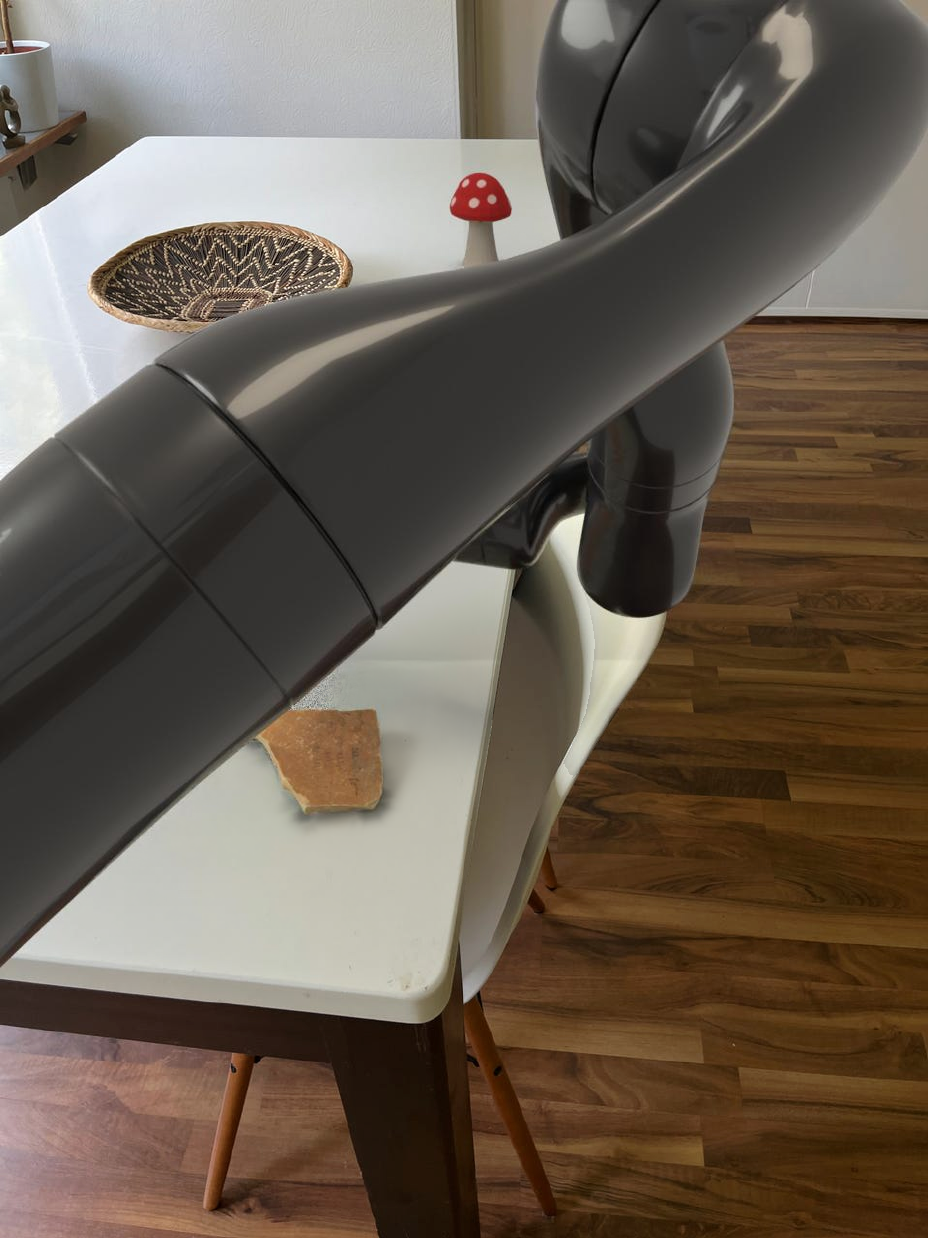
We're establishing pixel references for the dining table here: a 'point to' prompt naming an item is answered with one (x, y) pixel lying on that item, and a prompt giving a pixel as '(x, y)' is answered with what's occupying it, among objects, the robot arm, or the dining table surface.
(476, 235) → the decorative mushroom
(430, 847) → the dining table surface
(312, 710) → the pottery shard
